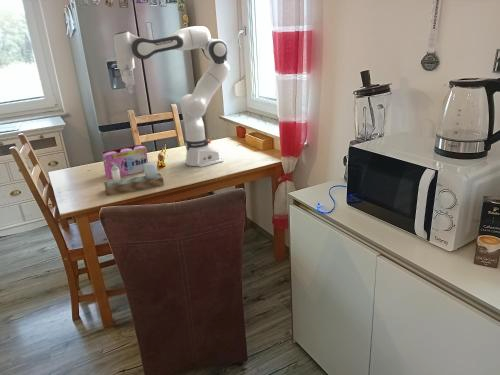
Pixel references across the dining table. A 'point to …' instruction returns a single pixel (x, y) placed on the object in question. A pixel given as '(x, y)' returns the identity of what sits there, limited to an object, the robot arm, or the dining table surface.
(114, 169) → the shaker
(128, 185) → the podium
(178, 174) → the dining table surface
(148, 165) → the white short cylinder
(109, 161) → the gum box
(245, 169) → the dining table surface
